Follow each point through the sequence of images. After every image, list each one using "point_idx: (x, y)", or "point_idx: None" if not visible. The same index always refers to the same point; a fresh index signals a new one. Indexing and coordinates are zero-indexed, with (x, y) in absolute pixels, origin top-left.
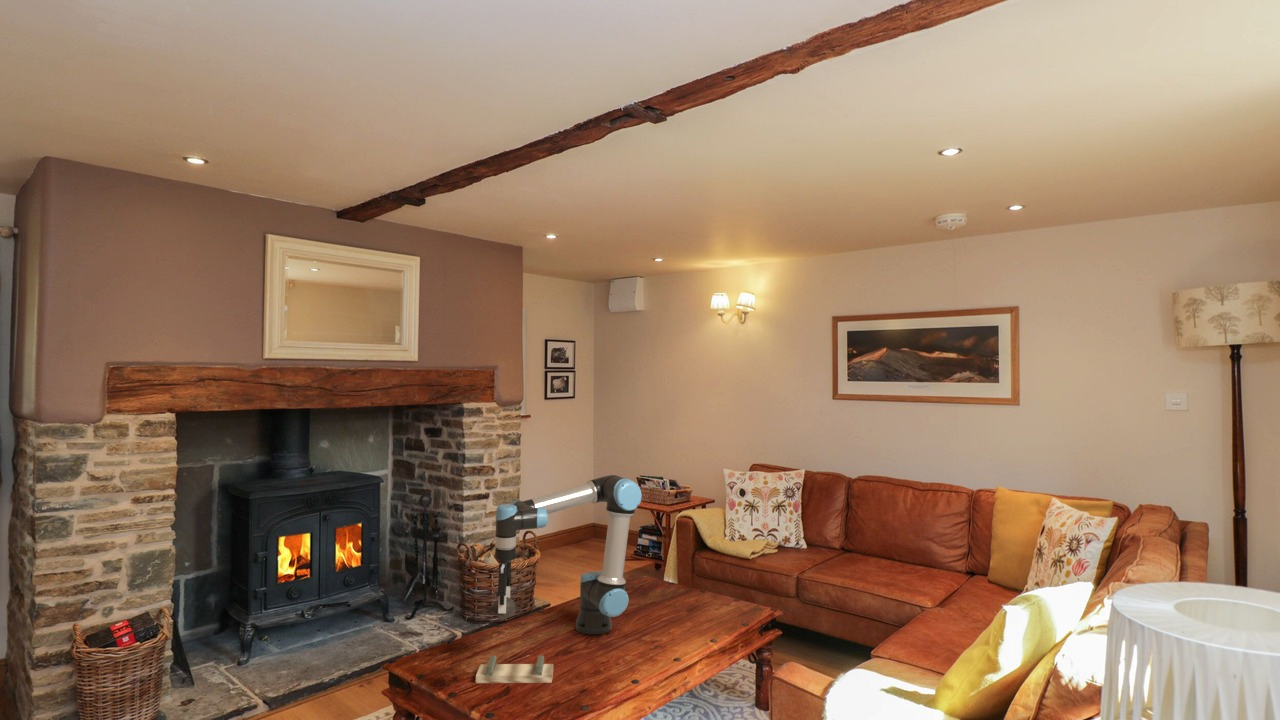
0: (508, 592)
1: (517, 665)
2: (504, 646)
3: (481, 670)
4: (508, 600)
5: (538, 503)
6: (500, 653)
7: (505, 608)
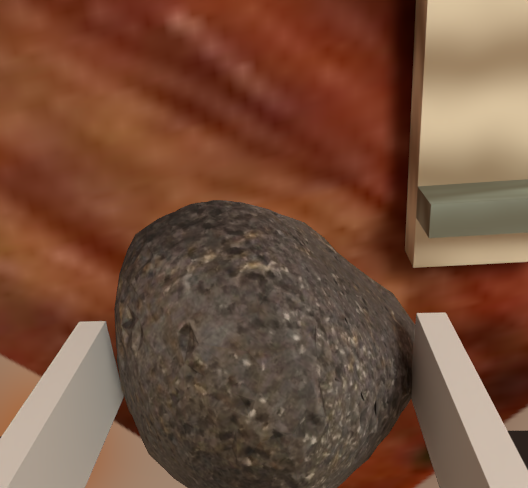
0: (34, 476)
1: (447, 43)
2: (87, 194)
3: (495, 246)
4: (310, 397)
5: None
6: (181, 196)
7: (469, 359)
